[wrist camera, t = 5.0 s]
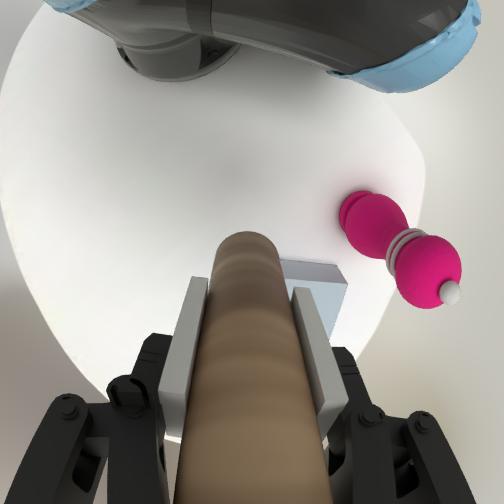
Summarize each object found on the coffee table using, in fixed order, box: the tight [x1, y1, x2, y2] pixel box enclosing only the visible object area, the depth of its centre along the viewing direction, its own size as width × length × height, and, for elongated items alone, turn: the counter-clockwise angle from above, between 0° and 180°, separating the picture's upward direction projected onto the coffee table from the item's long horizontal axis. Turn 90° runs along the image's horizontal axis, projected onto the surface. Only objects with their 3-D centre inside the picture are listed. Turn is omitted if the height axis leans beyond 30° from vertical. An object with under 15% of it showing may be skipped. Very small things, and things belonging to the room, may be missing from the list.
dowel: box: [173, 231, 334, 504], centre depth 11 cm, size 4×4×17 cm
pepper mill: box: [339, 191, 462, 309], centre depth 25 cm, size 7×7×20 cm
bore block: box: [280, 260, 348, 340], centre depth 37 cm, size 14×14×5 cm
